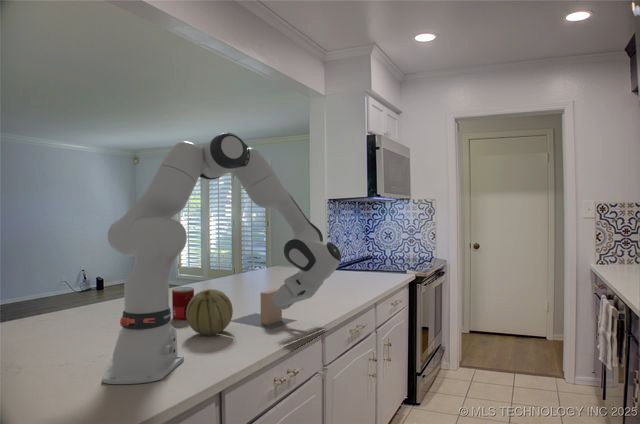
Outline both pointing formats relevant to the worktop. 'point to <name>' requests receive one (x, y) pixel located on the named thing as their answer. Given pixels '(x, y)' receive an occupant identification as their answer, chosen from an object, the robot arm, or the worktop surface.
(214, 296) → the cantaloupe
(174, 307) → the canned food
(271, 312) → the block
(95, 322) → the worktop surface
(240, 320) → the mat
